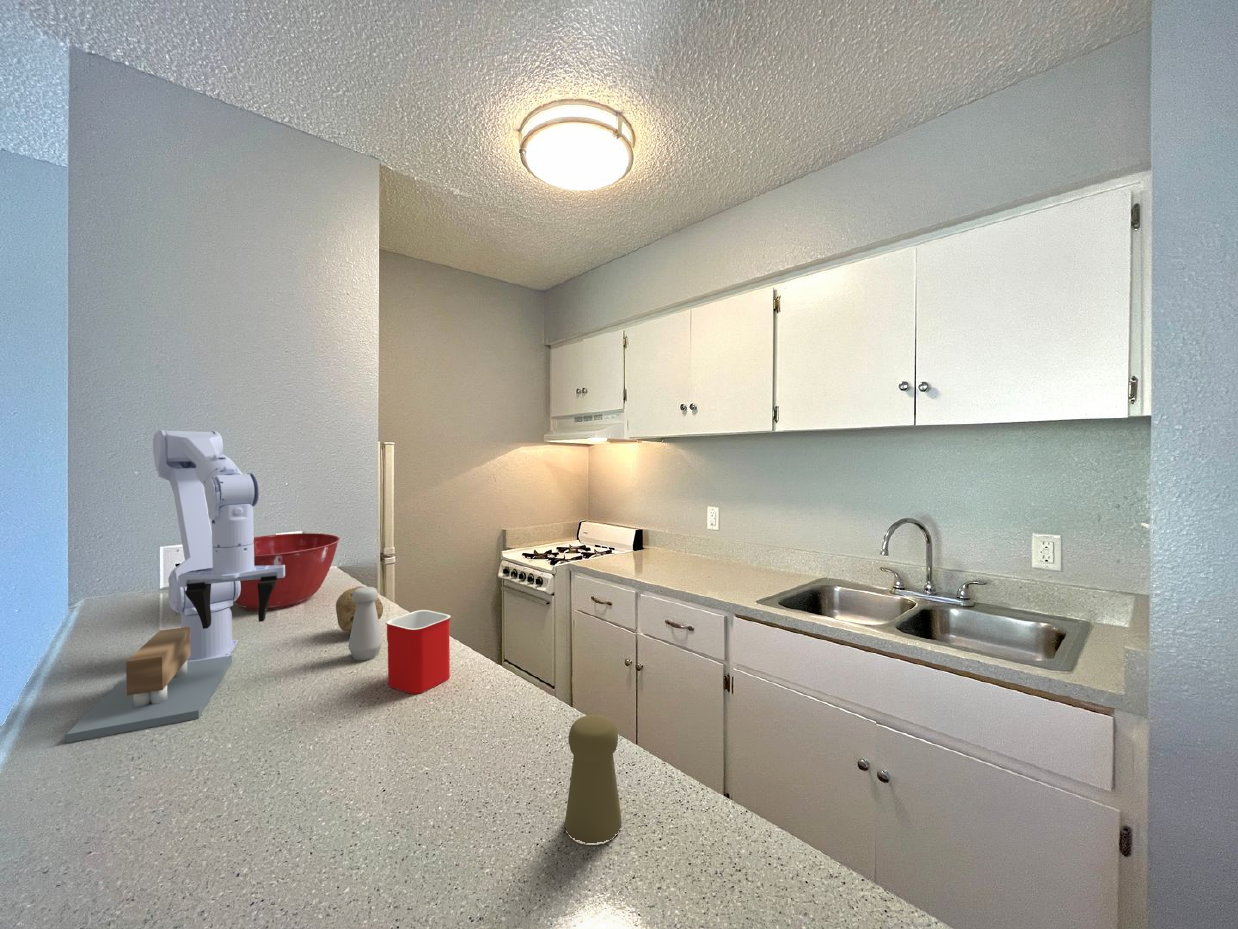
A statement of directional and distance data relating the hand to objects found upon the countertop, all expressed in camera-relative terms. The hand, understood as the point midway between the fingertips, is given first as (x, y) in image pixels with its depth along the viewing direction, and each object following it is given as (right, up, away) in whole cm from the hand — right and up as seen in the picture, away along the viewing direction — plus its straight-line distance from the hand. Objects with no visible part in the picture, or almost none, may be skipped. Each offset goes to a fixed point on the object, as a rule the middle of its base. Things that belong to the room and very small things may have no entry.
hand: (235, 623), depth 88 cm
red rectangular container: (+30, -10, 0) cm, 32 cm away
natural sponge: (+11, -9, +21) cm, 25 cm away
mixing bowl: (-22, -8, +43) cm, 49 cm away
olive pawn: (+63, -11, -34) cm, 72 cm away
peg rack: (-7, -10, -6) cm, 13 cm away
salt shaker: (+18, -9, +9) cm, 22 cm away
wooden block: (-6, -6, -7) cm, 11 cm away
